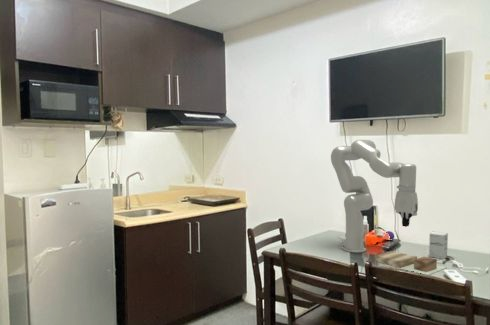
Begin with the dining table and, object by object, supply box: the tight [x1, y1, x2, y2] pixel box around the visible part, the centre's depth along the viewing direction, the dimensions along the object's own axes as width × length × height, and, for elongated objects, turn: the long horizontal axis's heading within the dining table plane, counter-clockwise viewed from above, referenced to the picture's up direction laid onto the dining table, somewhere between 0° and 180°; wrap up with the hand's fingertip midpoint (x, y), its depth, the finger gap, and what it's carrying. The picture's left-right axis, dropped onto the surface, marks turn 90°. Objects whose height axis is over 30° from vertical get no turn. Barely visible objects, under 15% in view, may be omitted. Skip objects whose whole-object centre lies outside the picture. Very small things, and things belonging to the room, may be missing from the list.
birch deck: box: [375, 250, 418, 269], centre depth 194 cm, size 14×14×3 cm
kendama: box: [385, 230, 395, 240], centre depth 238 cm, size 6×6×20 cm
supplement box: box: [428, 231, 449, 260], centre depth 203 cm, size 7×7×13 cm
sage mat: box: [399, 264, 447, 276], centre depth 183 cm, size 13×18×1 cm
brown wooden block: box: [414, 256, 438, 272], centre depth 182 cm, size 6×9×4 cm, turn 125°
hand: (405, 225), depth 190 cm, fingers closed
